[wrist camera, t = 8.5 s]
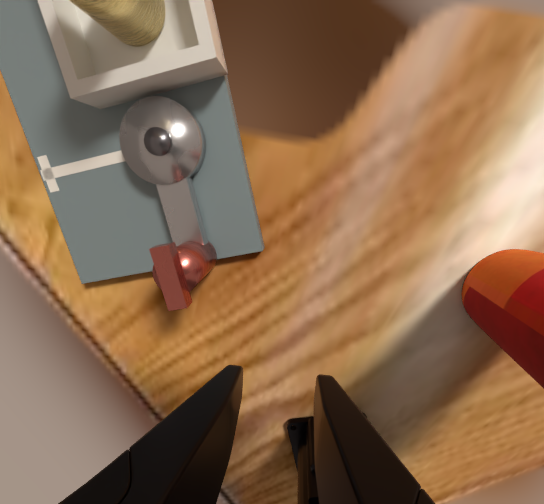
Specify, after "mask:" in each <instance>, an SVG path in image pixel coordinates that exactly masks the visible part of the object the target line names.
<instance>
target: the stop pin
mask: <svg viewBox="0 0 544 504" xmlns="http://www.w3.org/2000/svg"><path fill="white" fill-rule="evenodd" d="M69 1H71V2H72V3H73V4H74V5H76V6H77V7H78V8H79V9H81V10H82V11H83V12H84V13H86V14H87V15H88V16H90V17H91V18H92V19H93V20H95V21H96V22H97V23H98V24H100V25H101V26H102V27H103V28H105V29H106V30H107V31H109V32H110V33H111V34H112V35H114V36H115V37H116V38H117V39H119V40H120V41H121V42H123V43H125V44H127V45H129V46H134V47H139V46H144V45H147V44H149V43H150V42H152V41H153V40H154V39H155V38H156V37H157V36H158V35H159V33H160V32H161V29H162V27H163V24H164V20H165V2H164V0H69Z"/></svg>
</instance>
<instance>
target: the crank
mask: <svg viewBox="0 0 544 504" xmlns="http://www.w3.org/2000/svg"><path fill="white" fill-rule="evenodd" d="M119 141H120V147H121V151H122V154H123V157H124V159H125V161H126V162H127V164H128V166H129V167H130V168H131V169H132V171H133V172H134V173H135V174H137V175H138V176H139V177H140V178H142V179H144V180H145V181H148V182H150V183H153V184H156V186H157V189H158V193H159V196H160V200H161V203H162V206H163V210H164V213H165V217H166V220H167V223H168V227H169V230H170V234H171V237H172V241H173V242H171V243H166V244H161V245H156V246H154V247H152V248H150V249H149V250H150V254H151V257H152V260H153V263H154V265H153V270H152V273H153V278H154V281H155V282H156V284H157V286H158V287H159V288H160V289H161V290H162V292H163V295H164V298H165V301H166V305H167V308H168V311H172V310H178V309H184V308H188V306H189V305H190V304H191V303H192V299H191V296H190V291H191V290H192V289H193V288H194V287H195V286H196V285H197V284H198V283H199V282H200V281H201V280H202V279H203V278H204V277H205V276H206V275H207V274H208V273H209V271H210V270H211V269H212V268H213V267H214V266H215V264H216V261H217V254H216V250H215V248H214V246H213V245H212V244H211V243H210V242H209V241H208V239H207V236H206V232H205V228H204V224H203V220H202V217H201V213H200V209H199V205H198V201H197V198H196V194H195V190H194V186H193V183H192V179H191V178H192V177H193V176H194V175H195V174H196V173H197V172H198V171H199V169H200V168H201V166H202V164H203V162H204V159H205V154H206V139H205V134H204V131H203V128H202V126H201V124H200V122H199V121H198V119H197V118H196V117H195V115H194V114H193V113H192V112H191V111H189V110H188V109H187V108H185V107H184V106H182V105H180V104H179V103H177V102H176V101H174V100H172V99H169V98H166V97H161V96H151V97H146V98H143V99H141V100H139V101H137V102H136V103H134V104H133V105H132V106H131V107H130V108H129V109H128V111H127V112H126V113H125V115H124V117H123V119H122V122H121V126H120V132H119Z"/></svg>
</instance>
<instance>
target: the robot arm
mask: <svg viewBox="0 0 544 504" xmlns="http://www.w3.org/2000/svg"><path fill="white" fill-rule="evenodd" d="M242 386H243V368H242V366H236V365H228V366H226V367H225V368H224V369H223V370H222V371H220V372H219V373H218V374H217V375H216V376H214V377H213V378H212V379H211V380H210V381H208V382H207V383H206V384H205V385H204V386H203V387H201V388H200V389H199V390H198V391H197V392H195V393H194V394H193V395H192V396H191V397H189V398H188V399H187V400H186V401H185V402H183V403H182V404H181V405H180V406H179V407H177V408H176V409H175V410H174V411H173V412H171V413H170V414H169V415H168V416H167V417H166V418H164V419H163V420H162V421H161V422H160V423H158V424H157V425H156V426H155V427H154V428H152V429H151V430H150V431H149V432H148V433H146V434H145V435H144V436H143V437H142V438H141V439H139V440H138V441H137V442H136V443H135V444H133V445H132V446H131V447H130V449H129V450H130V452H129V450H126V451H125V452H124V453H122V454H121V455H120V456H119V457H118V458H116V459H115V460H114V461H113V462H112V463H110V464H109V465H108V466H107V467H105V468H104V469H103V470H102V471H100V472H99V473H98V474H97V475H95V476H94V477H93V478H92V479H91V480H89V481H88V482H87V483H86V484H84V485H83V486H81V487H80V488H79V489H77V490H76V491H75V492H73V493H72V494H71V495H69V496H68V497H67V498H65V499H64V500H63V501H61V502H60V503H59V504H216V502H217V499H218V495H219V492H220V489H221V486H222V482H223V479H224V476H225V473H226V469H227V466H228V462H229V459H230V455H231V450H232V445H233V440H234V435H235V430H236V425H237V419H238V414H239V409H240V404H241V398H242ZM292 425H294V426H292ZM287 429H288V433H289V437H290V441H291V446H292V450H293V454H294V459H295V463H296V467H297V471H298V504H435V503H434V502H433V500H432V499H431V498H430V497H429V495H428V494H427V493H426V492H425V490H424V489H421V486H420V484H419V483H418V482H417V481H416V479H415V478H414V477H413V476H412V474H411V473H410V472H409V471H408V469H407V468H406V467H405V466H404V464H403V463H402V462H401V461H400V460H399V458H398V457H397V456H396V455H395V453H394V452H393V451H392V450H391V448H390V447H389V446H388V445H387V443H386V442H385V441H384V440H383V438H382V437H381V436H380V435H379V433H378V432H377V431H376V430H375V428H374V427H373V426H372V425H371V423H370V422H369V421H368V420H367V417H366V415H365V414H364V413H362V412H361V411H360V410H359V409H358V407H357V406H356V405H355V404H354V402H353V401H352V400H351V399H350V397H349V396H348V395H347V394H346V392H345V391H344V390H343V389H342V387H341V386H340V385H339V384H338V382H337V381H336V380H335V379H334V378H333V377H332V376H329V375H318V376H317V378H316V387H315V395H314V417H307V418H297V419H290V420H289V421H288V426H287Z"/></svg>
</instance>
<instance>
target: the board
mask: <svg viewBox="0 0 544 504" xmlns="http://www.w3.org/2000/svg"><path fill="white" fill-rule="evenodd" d="M0 70H1V73H2V75H3V78H4V80H5V83H6V86H7V88H8V91H9V94H10V96H11V99H12V101H13V104H14V107H15V109H16V112H17V115H18V117H19V120H20V122H21V125H22V128H23V130H24V133H25V136H26V138H27V141H28V143H29V146H30V149H31V151H32V154H33V157H34V159H35V162H36V164H37V167H38V170H39V172H40V175H41V177H42V180H43V183H44V185H45V188H46V191H47V193H48V196H49V198H50V201H51V204H52V206H53V209H54V212H55V214H56V217H57V219H58V222H59V225H60V227H61V230H62V233H63V235H64V238H65V240H66V243H67V246H68V248H69V251H70V254H71V256H72V259H73V261H74V264H75V267H76V269H77V272H78V275H79V277H80V280H81V282H82V284H83V283H89V282H94V281H100V280H105V279H111V278H116V277H122V276H127V275H133V274H138V273H144V272H150V271H152V270H153V265H154V263H153V260H152V257H151V254H150V250H149V249H150V248H152V247H154V246H156V245H161V244H166V243H171V242H173V241H172V237H171V234H170V230H169V227H168V223H167V220H166V217H165V213H164V210H163V206H162V203H161V200H160V196H159V193H158V189H157V186H156V184H153V183H150V182H148V181H145V180H144V179H142V178H140V177H139V176H138V175H137V174H135V173H134V172H133V171H132V169H131V168H130V167H129V166H128V164H127V162H126V161H125V159H124V157H123V154H122V151H121V147H120V141H119V132H120V126H121V122H122V119H123V117H124V115H125V113H126V112H127V111H128V109H129V108H130V107H131V106H132V105H133V104H134V103H136V102H137V101H139V100H141V99H143V98H140V99H136V100H133V101H129V102H125V103H122V104H118V105H114V106H111V107H107V108H103V109H99V108H96V107H93V106H91V105H88V104H85V103H82V102H79V101H77V100H74V99H71V98H70V95H69V92H68V89H67V86H66V83H65V80H64V77H63V75H62V72H61V69H60V66H59V63H58V60H57V57H56V54H55V51H54V48H53V45H52V42H51V39H50V36H49V33H48V30H47V27H46V24H45V21H44V18H43V15H42V12H41V9H40V6H39V3H38V0H0ZM151 96H161V97H166V98H169V99H172V100H174V101H176V102H177V103H179V104H180V105H182V106H184V107H185V108H187V109H188V110H189V111H191V112H192V113H193V114H194V115H195V117H196V118H197V119H198V121H199V122H200V124H201V126H202V128H203V131H204V134H205V139H206V154H205V159H204V162H203V164H202V166H201V168H200V169H199V171H198V172H197V173H196V174H195V175H194V176H193V177H192V178H191V179H192V183H193V186H194V190H195V194H196V198H197V201H198V205H199V209H200V213H201V217H202V220H203V224H204V228H205V232H206V236H207V239H208V241H209V242H210V243H211V244H212V245H213V246H214V248H215V250H216V254H217V259H221V258H227V257H232V256H238V255H243V254H249V253H254V252H260V251H263V249H264V243H263V239H262V234H261V229H260V225H259V220H258V216H257V211H256V207H255V202H254V197H253V193H252V188H251V184H250V179H249V174H248V170H247V165H246V161H245V156H244V152H243V147H242V142H241V138H240V133H239V129H238V124H237V119H236V115H235V110H234V106H233V101H232V97H231V93H230V88H229V83H228V78H227V75H225V76H221V77H217V78H213V79H210V80H206V81H202V82H199V83H195V84H191V85H188V86H184V87H180V88H177V89H173V90H169V91H166V92H162V93H158V94H155V95H151ZM151 96H147V97H151ZM144 98H146V97H144Z"/></svg>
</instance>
